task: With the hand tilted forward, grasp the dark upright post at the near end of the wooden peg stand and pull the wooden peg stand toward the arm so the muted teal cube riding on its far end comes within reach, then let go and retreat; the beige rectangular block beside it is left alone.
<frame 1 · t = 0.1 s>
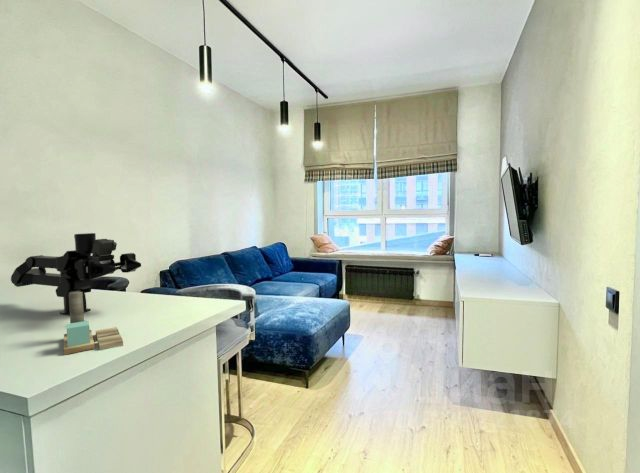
hand: (128, 267, 110), 16 cm above the table, tool horizontal, fingers open, 9 cm apart
wooden peg stand: (77, 319, 89), point 6 cm above the table, slide at 0.0 cm, touching cube
cube: (78, 342, 87), point 1 cm above the table, touching wooden peg stand
beige rectangular block: (106, 334, 97), on the table
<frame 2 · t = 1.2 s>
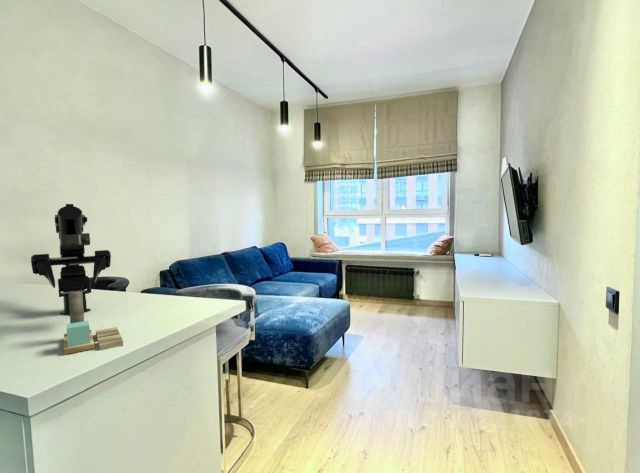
hand: (74, 284, 99), 13 cm above the table, tool tilted 45°, fingers open, 9 cm apart
nothing on the table moved.
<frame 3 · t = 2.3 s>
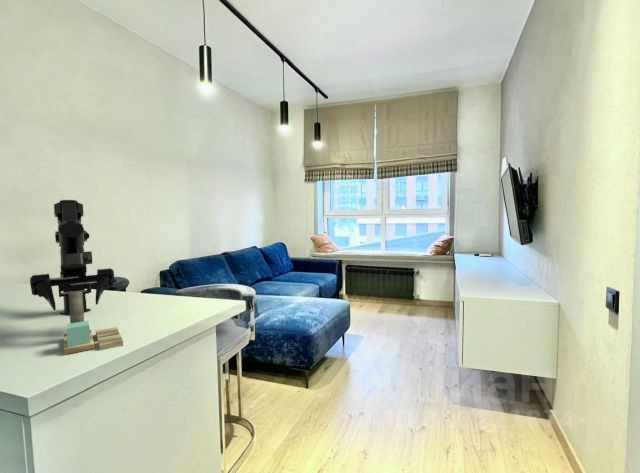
hand: (76, 306, 93), 9 cm above the table, tool tilted 45°, fingers open, 9 cm apart
nothing on the table moved.
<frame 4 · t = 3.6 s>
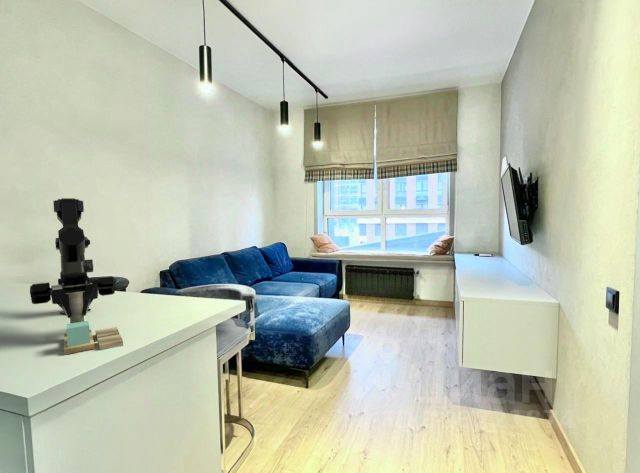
hand: (77, 315, 92), 7 cm above the table, tool tilted 45°, fingers closed on wooden peg stand, 3 cm apart
wooden peg stand: (77, 319, 89), point 6 cm above the table, slide at 0.0 cm, touching cube, gripper
everything else where it was.
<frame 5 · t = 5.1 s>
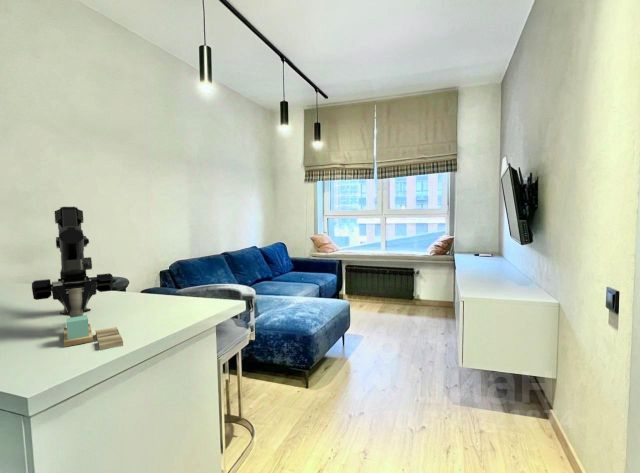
hand: (76, 310, 97), 7 cm above the table, tool tilted 45°, fingers closed on wooden peg stand, 3 cm apart
wooden peg stand: (76, 314, 94), point 6 cm above the table, slide at 6.1 cm, touching cube, gripper
cube: (78, 335, 92), point 1 cm above the table, touching wooden peg stand
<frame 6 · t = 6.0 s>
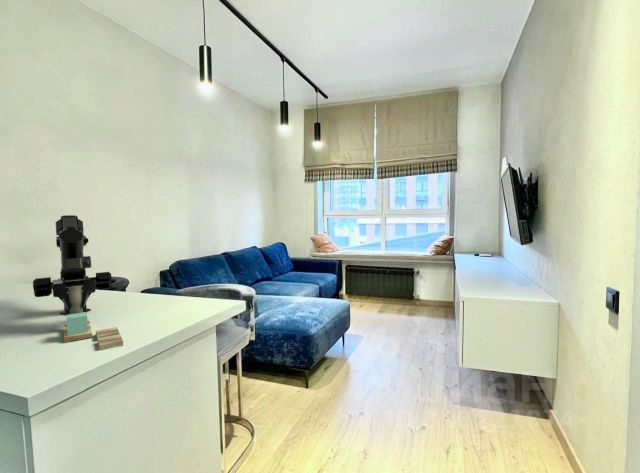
hand: (76, 307, 100), 7 cm above the table, tool tilted 45°, fingers closed on wooden peg stand, 3 cm apart
wooden peg stand: (76, 311, 97), point 6 cm above the table, slide at 10.0 cm, touching cube, gripper
cube: (77, 331, 95), point 1 cm above the table, touching wooden peg stand
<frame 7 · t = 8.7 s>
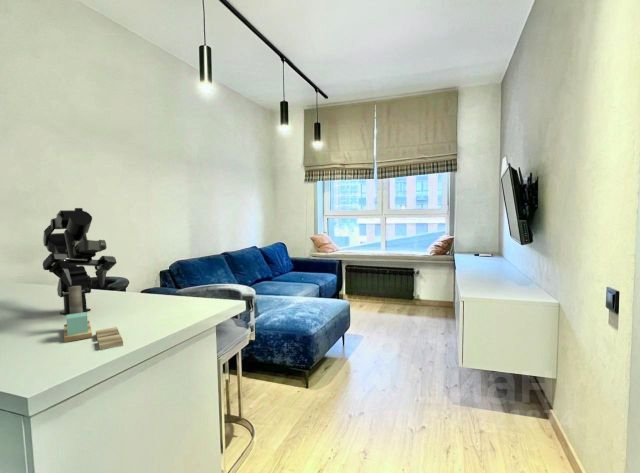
hand: (87, 286, 107), 11 cm above the table, tool tilted 35°, fingers open, 9 cm apart
wooden peg stand: (76, 311, 98), point 6 cm above the table, slide at 10.0 cm, touching cube
everything else where it was.
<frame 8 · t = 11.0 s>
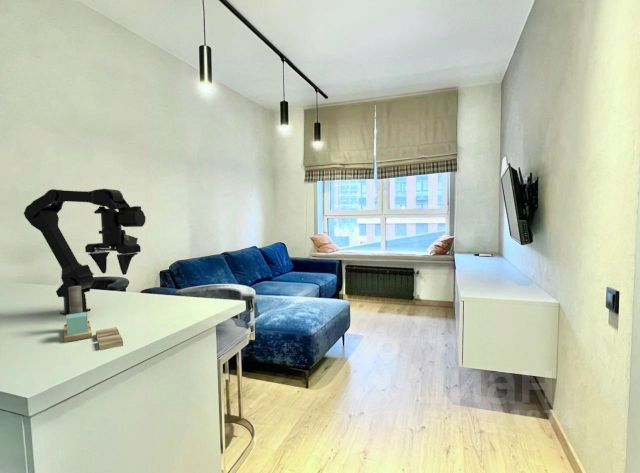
hand: (114, 273, 118), 13 cm above the table, tool pointing down, fingers open, 9 cm apart
nothing on the table moved.
at the end: wooden peg stand slide at 10.0 cm; cube inside the target area (0.1 cm from its centre), point 1.3 cm above the table; cube tilted 0° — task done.
